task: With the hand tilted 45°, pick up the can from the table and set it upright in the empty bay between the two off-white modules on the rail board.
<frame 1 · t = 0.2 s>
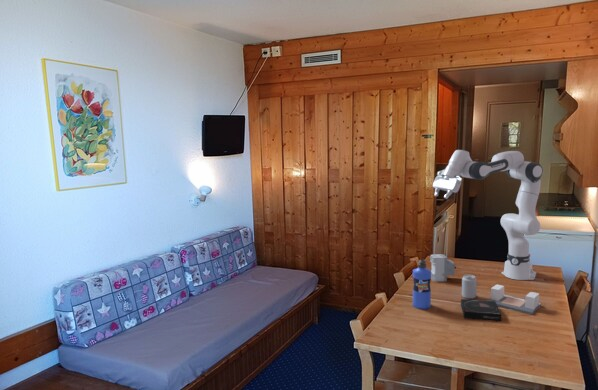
hand: (440, 197, 239), 54 cm above the table, tool tilted 30°, fingers open, 8 cm apart
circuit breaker: (443, 279, 260), on the table
rail board: (513, 304, 218), on the table
can: (468, 297, 230), on the table
water bottle: (421, 306, 220), on the table
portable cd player: (479, 314, 209), on the table
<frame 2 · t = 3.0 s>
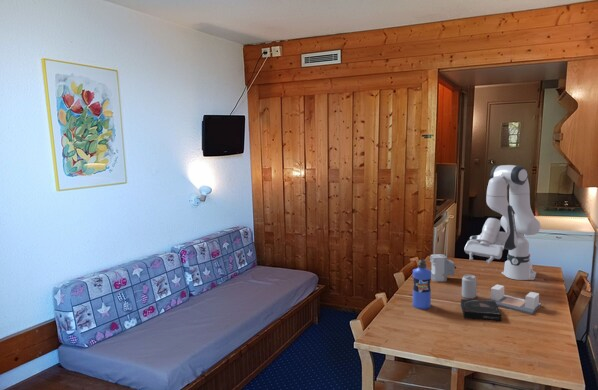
hand: (479, 261, 236), 17 cm above the table, tool tilted 45°, fingers open, 8 cm apart
nothing on the table moved.
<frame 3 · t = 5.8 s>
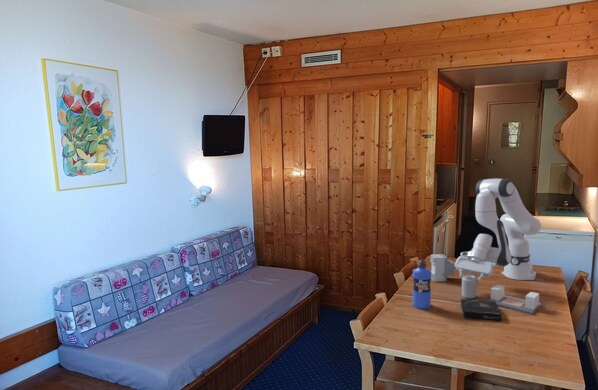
hand: (469, 279, 230), 10 cm above the table, tool tilted 45°, fingers open, 8 cm apart
nothing on the table moved.
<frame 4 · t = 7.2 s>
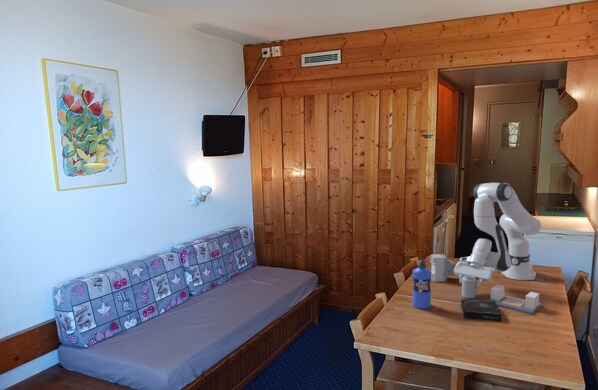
hand: (468, 284, 229), 7 cm above the table, tool tilted 45°, fingers closed on can, 7 cm apart
can: (468, 297, 230), on the table, touching gripper
everything else where it was.
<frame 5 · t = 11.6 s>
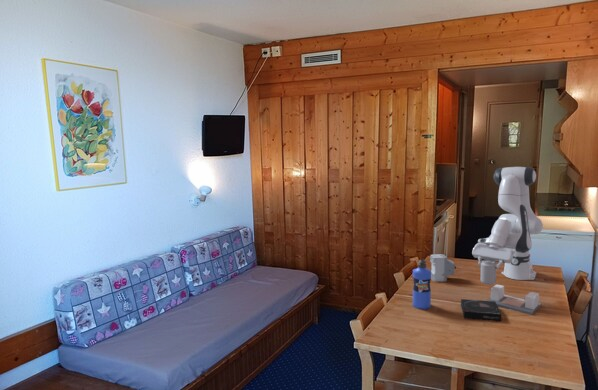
hand: (488, 266, 222), 19 cm above the table, tool tilted 45°, fingers closed on can, 7 cm apart
can: (488, 283, 223), point 10 cm above the table, touching gripper
everything else where it was.
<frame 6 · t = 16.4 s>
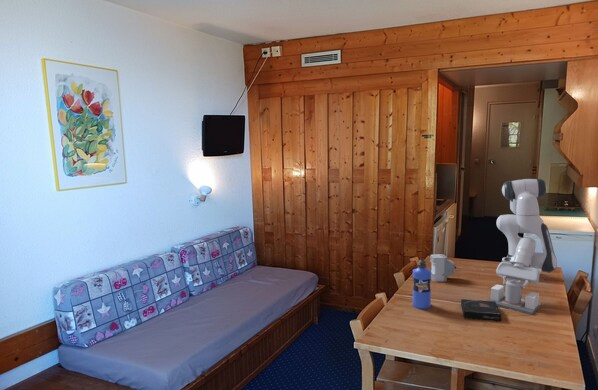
hand: (513, 286, 216), 10 cm above the table, tool tilted 45°, fingers closed on can, 7 cm apart
can: (513, 302, 218), point 1 cm above the table, touching gripper, rail board
everything else where it was.
when the fingers open (10 cm above the table, at t = 16.7 s): can stays where it is, resting on rail board.
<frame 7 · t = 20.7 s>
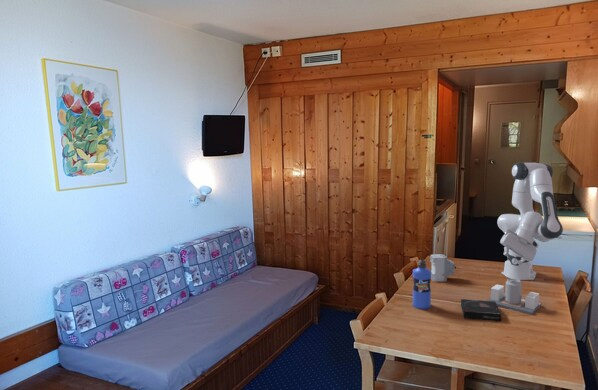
hand: (512, 259, 227), 21 cm above the table, tool tilted 35°, fingers open, 8 cm apart
can: (513, 302, 218), point 1 cm above the table, touching rail board
everything else where it was.
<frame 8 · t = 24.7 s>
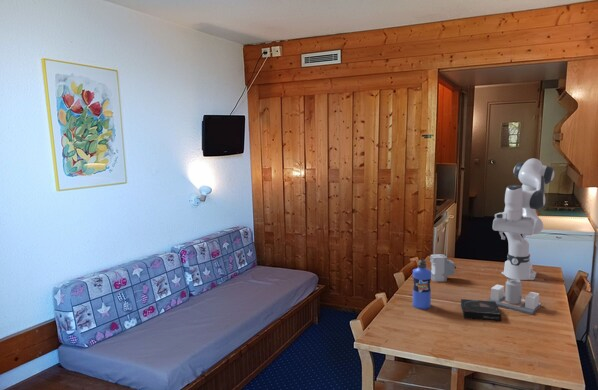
hand: (512, 240, 226), 31 cm above the table, tool pointing down, fingers open, 8 cm apart
nothing on the table moved.
at the end: can 0.4 cm off-centre on the rail board, point 1.2 cm above the rail board's base; can tilted 0°; the gripper is holding nothing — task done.
